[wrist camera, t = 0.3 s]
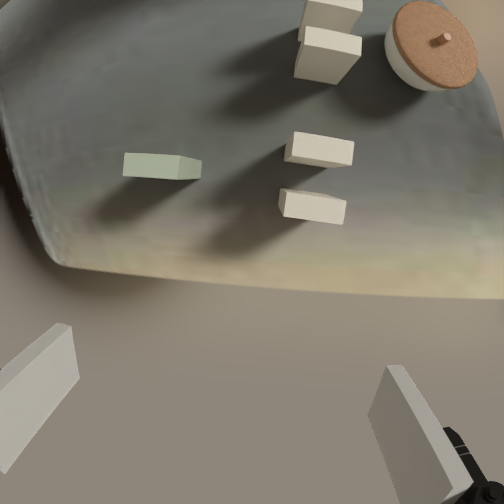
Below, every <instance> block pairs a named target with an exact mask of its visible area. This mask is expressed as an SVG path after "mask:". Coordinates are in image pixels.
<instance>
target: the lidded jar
mask: <svg viewBox="0 0 504 504" xmlns="http://www.w3.org/2000/svg"><path fill="white" fill-rule="evenodd" d="M384 46H385V53H386V57H387V59H388V61H389V64H390V65H391V67H392V69H393V70H394V71H395V73H396V74H397V75H398V76H399V77H400V78H401V79H402V80H403V81H405V82H406V83H407V84H409V85H410V86H412V87H414V88H417V89H420V90H423V91H427V92H443V91H448V90H452V89H456V88H460V87H463V86H465V85H467V84H468V83H470V82H471V81H472V80H473V78H474V76H475V74H476V71H477V66H478V57H477V51H476V48H475V45H474V42H473V40H472V38H471V36H470V34H469V33H468V31H467V30H466V28H465V27H464V26H463V24H462V23H461V22H460V21H459V20H458V19H457V18H456V17H455V16H454V15H452V14H451V13H450V12H448V11H447V10H445V9H444V8H442V7H440V6H438V5H436V4H433V3H430V2H424V1H414V2H410V3H407V4H405V5H404V6H402V7H401V8H400V9H399V11H398V12H397V13H396V15H395V17H394V18H393V20H392V21H391V22H390V24H389V26H388V29H387V31H386V35H385V41H384Z"/></svg>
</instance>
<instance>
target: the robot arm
mask: <svg viewBox="0 0 504 504" xmlns="http://www.w3.org/2000/svg"><path fill="white" fill-rule="evenodd" d="M78 379H80V376H79V371H78V366H77V360H76V354H75V348H74V342H73V336H72V328H71V326H68V325H65V324H61V323H56V324H55V325H54V326H53V327H52V328H50V329H49V330H48V331H47V332H45V333H44V334H43V335H42V336H40V337H39V338H38V339H37V340H35V341H34V342H33V343H32V344H31V345H29V346H28V347H27V348H26V349H25V350H24V351H22V352H21V353H20V354H19V355H18V356H17V357H15V358H14V359H13V360H12V361H10V362H9V363H8V364H7V365H6V366H5V367H3V368H2V369H0V471H1V472H3V473H4V474H6V472H7V471H8V469H9V468H10V467H11V465H12V464H13V463H14V461H15V460H16V459H17V457H18V456H19V455H20V453H21V452H22V451H23V449H24V448H25V447H26V445H27V444H28V443H29V441H30V440H31V439H32V437H33V436H34V435H35V434H36V432H37V431H38V430H39V428H40V427H41V426H42V425H43V423H44V422H45V421H46V419H47V418H48V417H49V415H50V414H51V413H52V412H53V411H54V409H55V408H56V407H57V406H58V404H59V403H60V402H61V400H62V399H63V398H64V397H65V396H66V394H67V393H68V392H69V391H70V389H71V388H72V387H73V386H74V384H75V383H76V382H77V381H78ZM368 417H369V420H370V423H371V425H372V428H373V430H374V433H375V436H376V438H377V441H378V444H379V446H380V449H381V452H382V454H383V457H384V460H385V462H386V465H387V468H388V471H389V473H390V476H391V479H392V482H393V485H394V488H395V490H396V493H397V496H398V499H399V502H400V504H504V486H503V485H502V484H500V483H498V482H494V481H489V482H488V481H487V480H486V478H485V476H484V475H483V473H482V471H481V470H480V468H479V466H478V465H477V463H476V461H475V460H474V458H473V456H472V455H471V454H469V450H468V448H467V447H466V446H465V444H464V442H463V440H462V439H461V437H460V436H459V435H458V434H457V433H456V432H455V431H454V430H452V429H451V428H450V427H445V428H442V427H441V425H440V424H439V422H438V421H437V419H436V417H435V416H434V414H433V412H432V411H431V409H430V408H429V406H428V404H427V403H426V401H425V400H424V398H423V396H422V395H421V393H420V392H419V390H418V389H417V387H416V386H415V384H414V383H413V381H412V380H411V378H410V376H409V375H408V373H407V372H406V370H405V369H404V367H403V366H402V365H386V367H385V370H384V373H383V377H382V379H381V382H380V384H379V387H378V390H377V393H376V395H375V398H374V401H373V403H372V406H371V408H370V410H369V413H368Z"/></svg>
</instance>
